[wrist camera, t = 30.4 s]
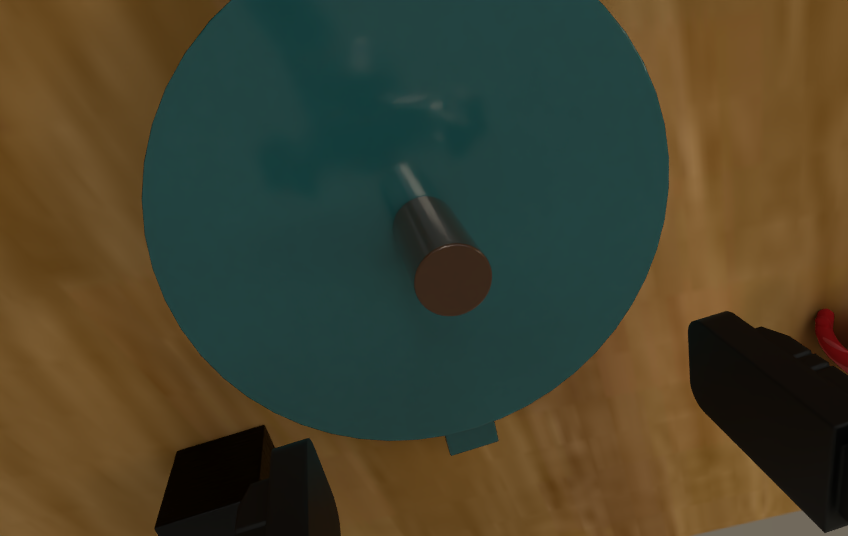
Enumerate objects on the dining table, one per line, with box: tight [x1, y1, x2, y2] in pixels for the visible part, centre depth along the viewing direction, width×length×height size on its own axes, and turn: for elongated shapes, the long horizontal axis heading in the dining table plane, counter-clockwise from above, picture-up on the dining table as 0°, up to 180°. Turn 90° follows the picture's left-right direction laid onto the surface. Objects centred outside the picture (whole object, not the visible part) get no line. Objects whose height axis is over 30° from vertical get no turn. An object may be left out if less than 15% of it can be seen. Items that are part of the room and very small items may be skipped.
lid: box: [142, 0, 669, 441], centre depth 21 cm, size 20×20×6 cm
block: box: [155, 425, 274, 536], centre depth 29 cm, size 4×4×5 cm
